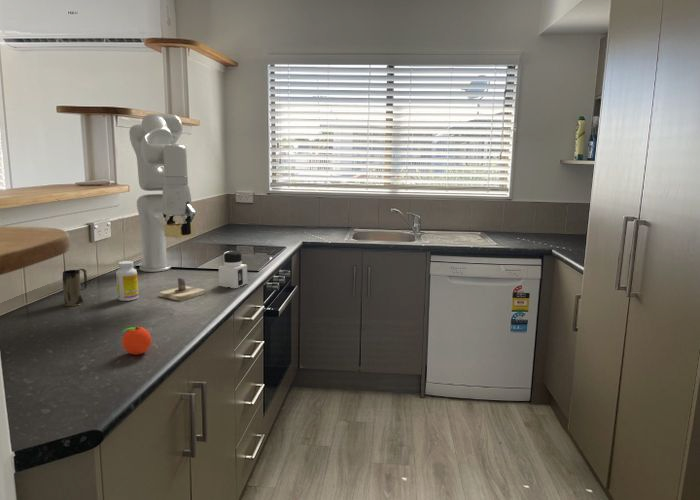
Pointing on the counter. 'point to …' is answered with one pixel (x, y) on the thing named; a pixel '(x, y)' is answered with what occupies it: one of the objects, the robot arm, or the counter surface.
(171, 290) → the post stand
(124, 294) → the supplement bottle
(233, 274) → the container
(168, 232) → the collar
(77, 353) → the counter surface
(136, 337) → the clementine
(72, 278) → the mug
